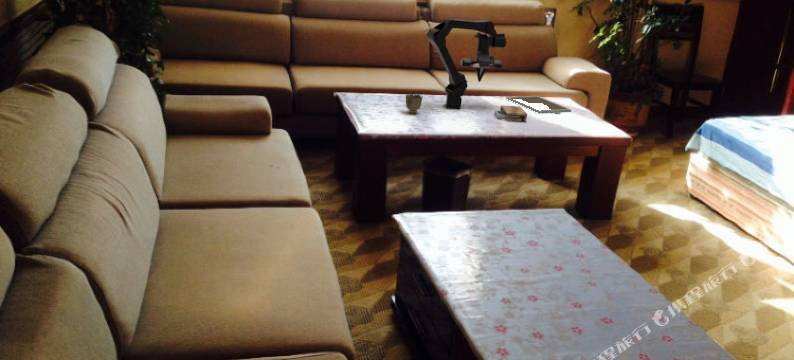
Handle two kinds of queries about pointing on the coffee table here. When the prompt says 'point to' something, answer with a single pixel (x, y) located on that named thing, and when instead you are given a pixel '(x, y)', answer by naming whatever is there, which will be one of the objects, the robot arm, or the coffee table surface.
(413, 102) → the cup
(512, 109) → the overhang
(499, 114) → the grey shallow tray
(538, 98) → the grey picture frame
